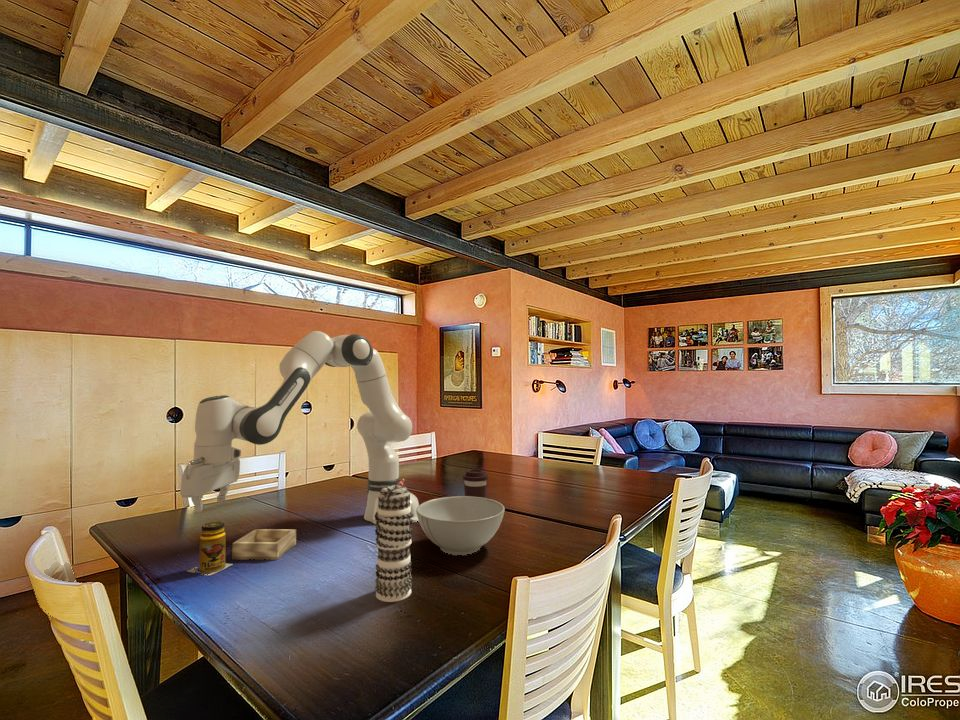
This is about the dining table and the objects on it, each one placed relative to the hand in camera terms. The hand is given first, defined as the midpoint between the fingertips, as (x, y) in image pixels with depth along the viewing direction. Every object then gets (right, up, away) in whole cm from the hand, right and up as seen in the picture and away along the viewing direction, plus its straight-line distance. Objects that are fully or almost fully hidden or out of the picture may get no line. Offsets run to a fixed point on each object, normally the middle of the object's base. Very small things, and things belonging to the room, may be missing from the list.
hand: (210, 506), depth 120 cm
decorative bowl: (+68, -17, +14) cm, 71 cm away
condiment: (0, -17, -1) cm, 17 cm away
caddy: (+10, -17, +11) cm, 22 cm away
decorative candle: (+53, -16, -15) cm, 57 cm away
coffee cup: (+72, -19, +53) cm, 91 cm away
